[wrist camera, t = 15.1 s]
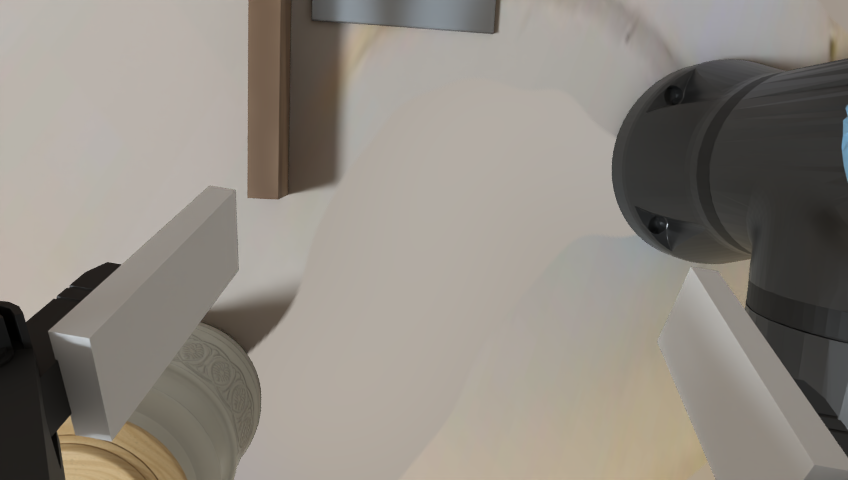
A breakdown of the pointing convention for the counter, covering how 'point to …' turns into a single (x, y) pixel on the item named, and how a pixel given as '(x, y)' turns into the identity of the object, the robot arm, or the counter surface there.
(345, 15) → the guide jig
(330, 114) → the counter surface
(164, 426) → the jar
